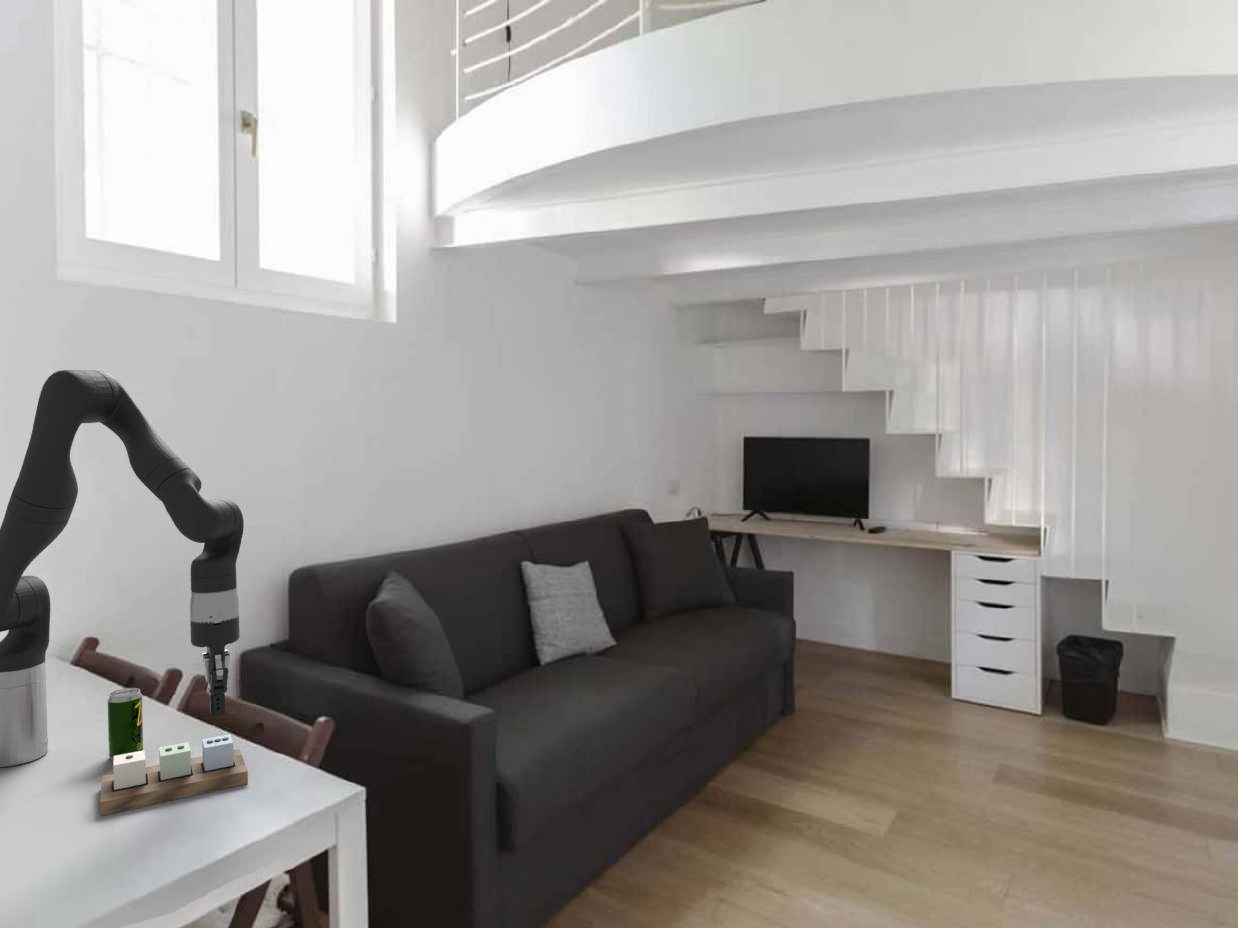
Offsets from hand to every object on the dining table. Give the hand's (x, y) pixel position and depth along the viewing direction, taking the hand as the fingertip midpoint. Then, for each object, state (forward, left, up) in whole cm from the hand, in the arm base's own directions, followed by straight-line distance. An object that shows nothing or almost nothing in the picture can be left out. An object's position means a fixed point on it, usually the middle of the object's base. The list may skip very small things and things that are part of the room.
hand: (217, 714), depth 135 cm
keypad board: (-7, 0, -11) cm, 13 cm away
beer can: (-14, +19, -11) cm, 26 cm away
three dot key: (0, 0, -9) cm, 9 cm away
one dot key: (-13, 0, -9) cm, 16 cm away
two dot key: (-7, 0, -9) cm, 11 cm away
